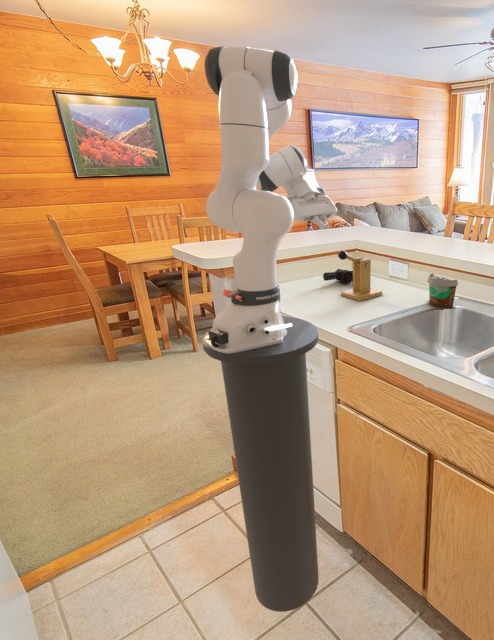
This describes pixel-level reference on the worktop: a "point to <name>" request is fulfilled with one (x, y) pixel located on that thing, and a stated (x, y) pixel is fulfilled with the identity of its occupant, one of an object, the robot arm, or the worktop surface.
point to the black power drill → (339, 275)
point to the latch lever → (348, 257)
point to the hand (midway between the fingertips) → (325, 227)
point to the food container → (441, 291)
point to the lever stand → (361, 282)
